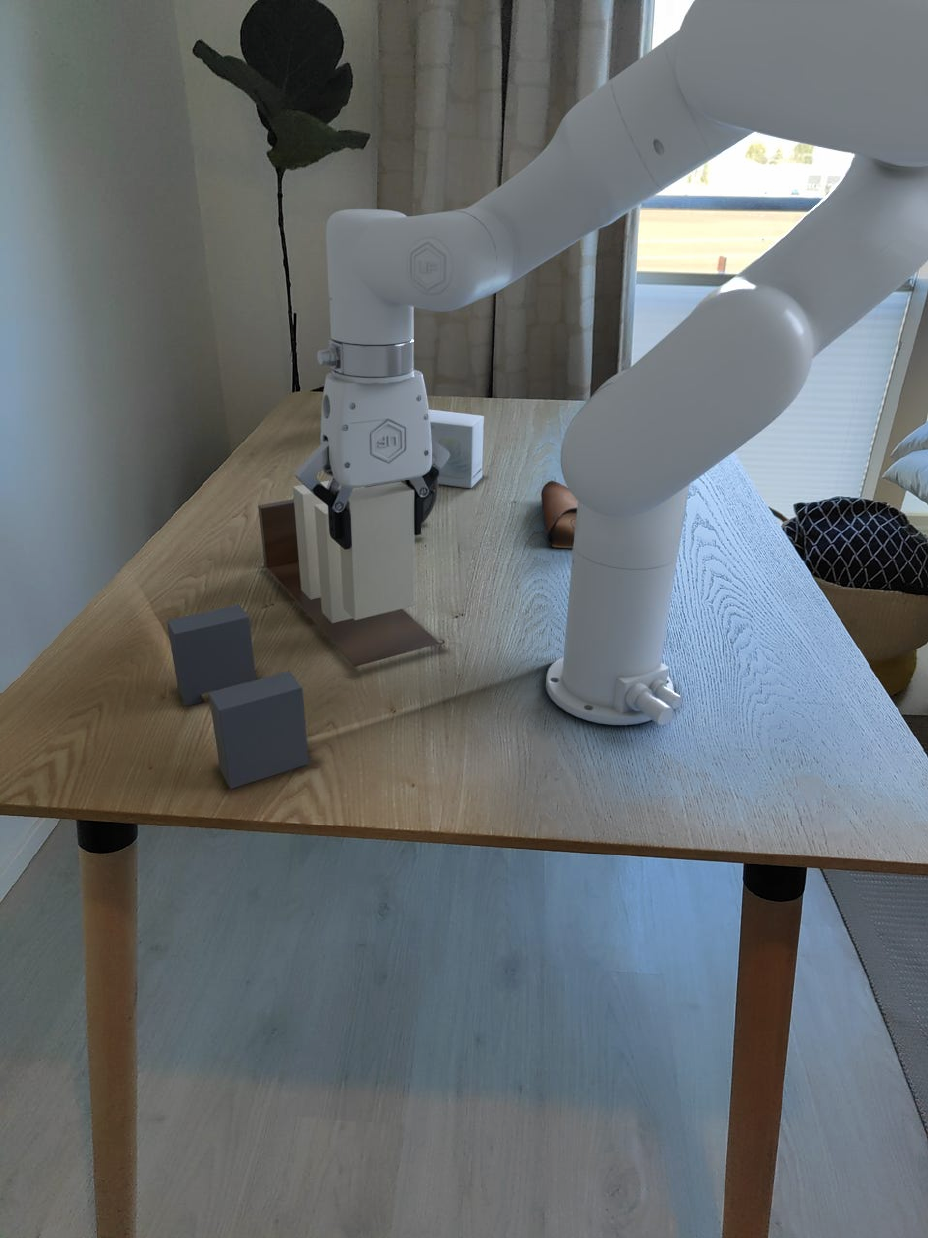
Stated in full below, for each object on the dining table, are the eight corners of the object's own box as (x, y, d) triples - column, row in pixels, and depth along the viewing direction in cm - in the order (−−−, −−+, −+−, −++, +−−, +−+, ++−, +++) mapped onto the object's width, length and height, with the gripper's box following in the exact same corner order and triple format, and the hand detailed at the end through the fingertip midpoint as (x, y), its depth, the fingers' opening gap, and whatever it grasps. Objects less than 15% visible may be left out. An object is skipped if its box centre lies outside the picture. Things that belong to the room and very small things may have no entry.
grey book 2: (309, 764, 75) (302, 687, 71) (230, 789, 71) (218, 710, 68) (296, 746, 77) (289, 670, 73) (219, 770, 74) (208, 692, 70)
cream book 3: (414, 605, 91) (414, 490, 85) (354, 620, 88) (349, 501, 82) (402, 594, 93) (400, 481, 87) (343, 608, 90) (337, 492, 84)
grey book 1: (257, 687, 85) (249, 616, 81) (186, 706, 82) (174, 634, 78) (247, 673, 87) (239, 604, 84) (178, 691, 84) (166, 620, 80)
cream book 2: (388, 609, 98) (385, 502, 92) (332, 623, 95) (325, 514, 89) (377, 599, 100) (374, 494, 94) (321, 612, 97) (314, 504, 91)
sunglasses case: (609, 546, 116) (587, 506, 114) (563, 569, 118) (540, 530, 116) (594, 500, 132) (575, 463, 130) (554, 520, 134) (534, 485, 131)
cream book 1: (365, 587, 103) (360, 484, 97) (310, 600, 100) (302, 494, 94) (354, 577, 105) (350, 476, 99) (301, 589, 102) (292, 486, 96)
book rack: (440, 650, 92) (440, 575, 88) (355, 674, 88) (351, 596, 83) (337, 556, 113) (334, 491, 109) (264, 571, 109) (257, 505, 104)
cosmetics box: (410, 481, 140) (409, 417, 135) (424, 469, 145) (424, 407, 140) (471, 489, 137) (472, 424, 132) (483, 477, 142) (485, 414, 137)
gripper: (297, 376, 72) (310, 568, 80) (475, 358, 79) (469, 535, 88) (267, 358, 77) (282, 539, 86) (436, 343, 85) (434, 511, 94)
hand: (377, 536), depth 87 cm, fingers closed on cream book 3, 7 cm apart
